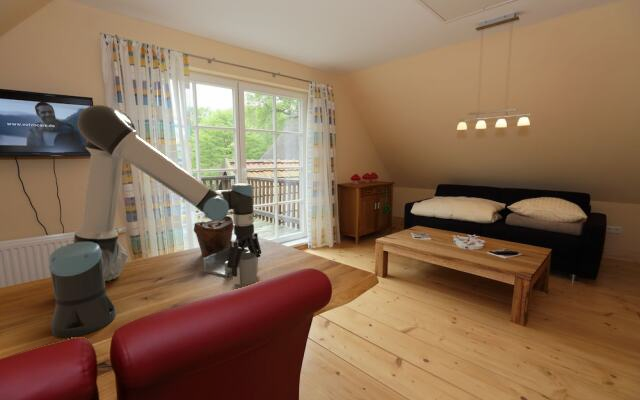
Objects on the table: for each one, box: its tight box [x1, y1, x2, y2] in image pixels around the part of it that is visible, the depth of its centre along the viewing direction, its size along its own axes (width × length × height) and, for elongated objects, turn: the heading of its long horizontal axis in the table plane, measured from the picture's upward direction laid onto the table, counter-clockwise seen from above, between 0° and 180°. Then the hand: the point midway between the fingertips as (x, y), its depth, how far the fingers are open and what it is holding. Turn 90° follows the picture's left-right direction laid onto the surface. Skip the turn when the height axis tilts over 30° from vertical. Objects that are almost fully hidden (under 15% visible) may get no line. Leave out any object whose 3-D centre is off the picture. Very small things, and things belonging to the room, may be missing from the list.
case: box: [193, 215, 235, 258], centre depth 147 cm, size 18×20×18 cm
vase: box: [104, 239, 130, 282], centre depth 119 cm, size 16×16×18 cm
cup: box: [238, 253, 258, 286], centre depth 118 cm, size 8×8×10 cm
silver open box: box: [202, 247, 251, 278], centre depth 132 cm, size 18×12×6 cm
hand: (246, 277), depth 119 cm, fingers open, 11 cm apart
